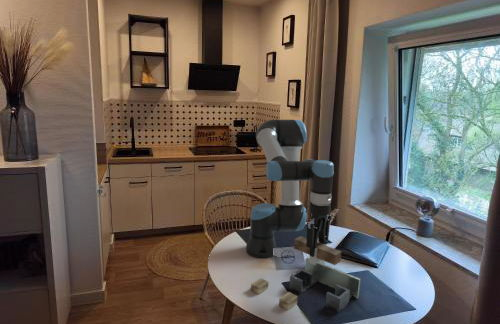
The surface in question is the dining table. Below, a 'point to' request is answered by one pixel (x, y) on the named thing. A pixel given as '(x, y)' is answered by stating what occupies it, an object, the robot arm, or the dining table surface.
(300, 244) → the rail
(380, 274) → the dining table surface
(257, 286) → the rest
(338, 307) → the bracket
